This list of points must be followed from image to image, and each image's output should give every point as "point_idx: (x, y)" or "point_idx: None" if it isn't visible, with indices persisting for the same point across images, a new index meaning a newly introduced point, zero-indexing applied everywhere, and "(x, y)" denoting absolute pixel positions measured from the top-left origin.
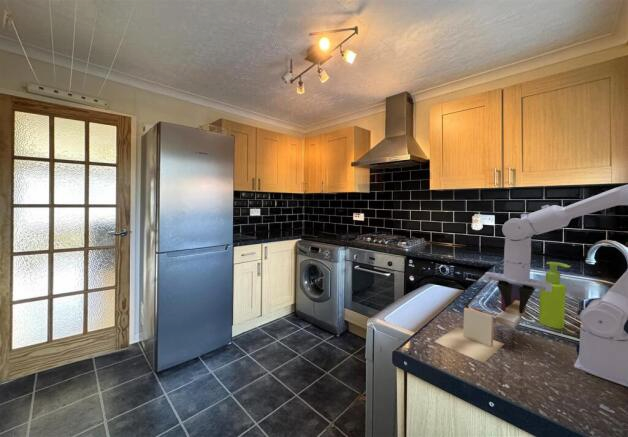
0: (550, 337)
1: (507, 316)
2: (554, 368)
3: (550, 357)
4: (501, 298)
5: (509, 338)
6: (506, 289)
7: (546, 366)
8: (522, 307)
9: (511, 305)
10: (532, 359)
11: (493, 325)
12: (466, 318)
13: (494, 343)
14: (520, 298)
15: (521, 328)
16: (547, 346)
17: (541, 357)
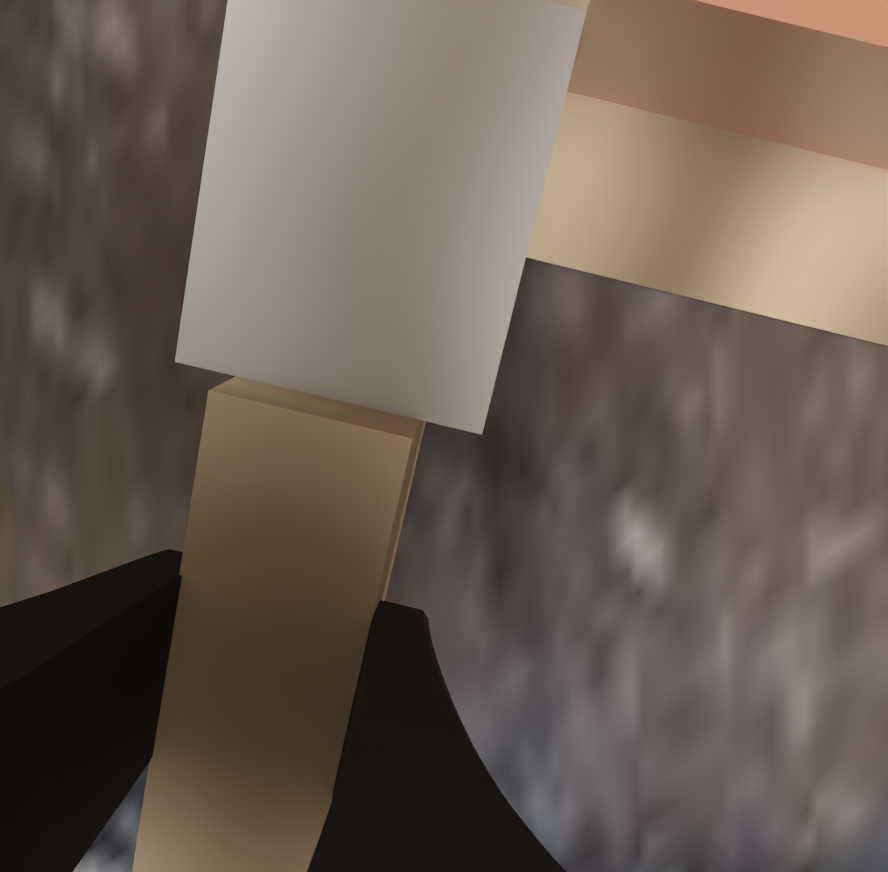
0: None
1: (370, 176)
2: (9, 14)
3: (59, 269)
4: None
5: (416, 486)
6: (324, 868)
7: (70, 4)
8: (94, 577)
9: (321, 700)
10: (189, 81)
11: (594, 18)
12: None
13: (549, 170)
14: (5, 675)
15: None
16: (101, 526)
17: (124, 204)
